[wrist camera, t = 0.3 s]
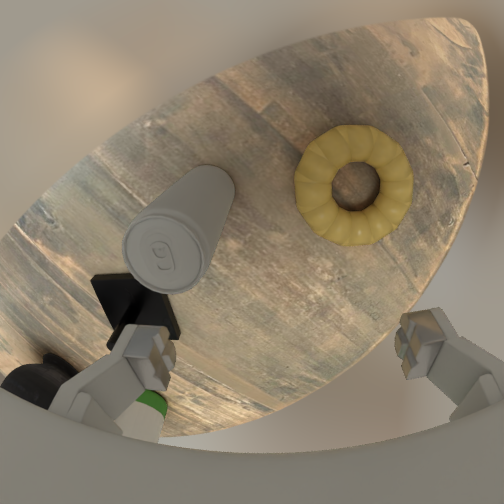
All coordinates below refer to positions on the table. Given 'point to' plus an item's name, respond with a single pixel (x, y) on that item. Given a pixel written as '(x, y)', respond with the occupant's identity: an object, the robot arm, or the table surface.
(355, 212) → the ring doughnut
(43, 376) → the pitcher
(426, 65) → the table surface
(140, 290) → the post
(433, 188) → the table surface
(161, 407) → the bottle
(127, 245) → the beverage can
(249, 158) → the table surface
